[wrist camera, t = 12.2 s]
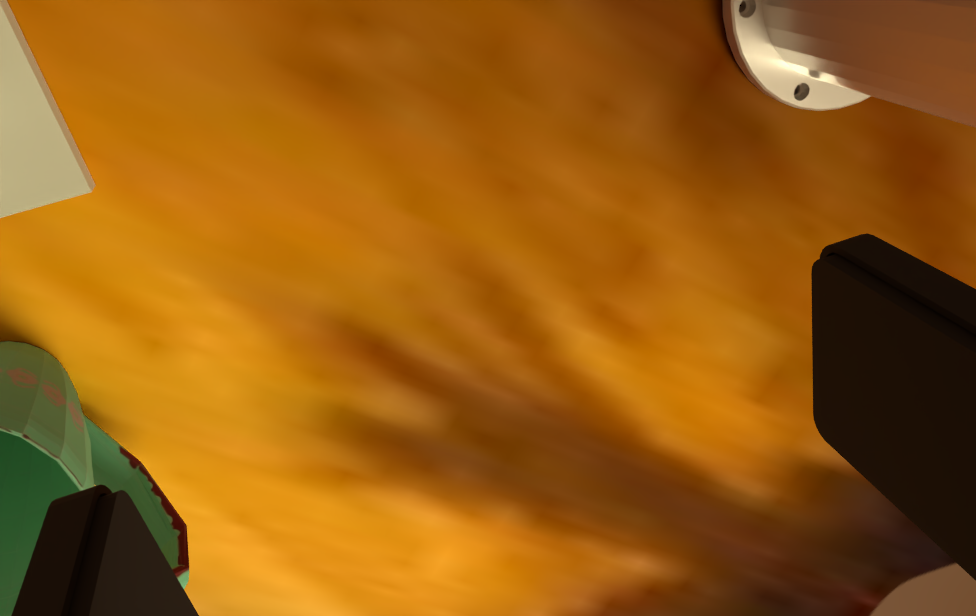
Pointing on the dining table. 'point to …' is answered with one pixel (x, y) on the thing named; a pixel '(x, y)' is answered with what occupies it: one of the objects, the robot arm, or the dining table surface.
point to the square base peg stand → (32, 131)
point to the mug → (62, 465)
